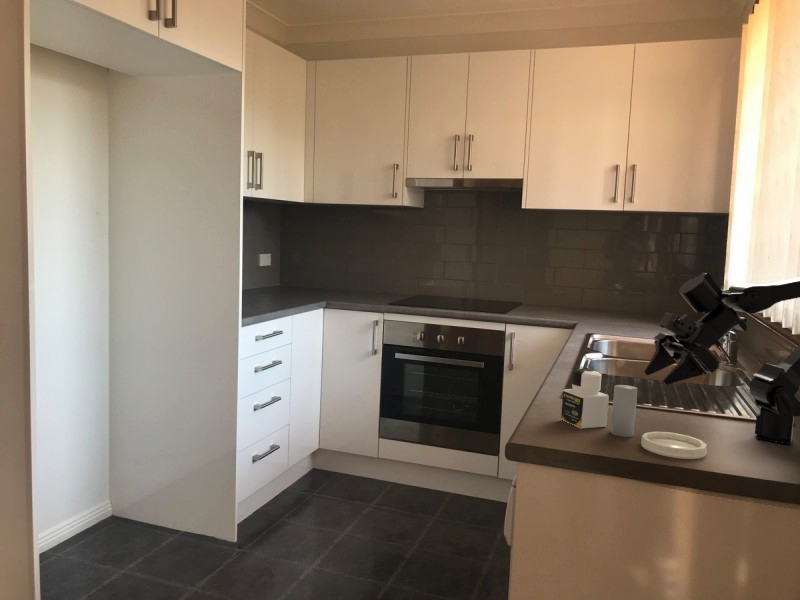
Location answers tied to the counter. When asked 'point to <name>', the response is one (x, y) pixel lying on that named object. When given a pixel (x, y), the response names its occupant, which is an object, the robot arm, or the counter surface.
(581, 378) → the medicine bottle
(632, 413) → the grey cylinder
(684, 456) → the saucer
